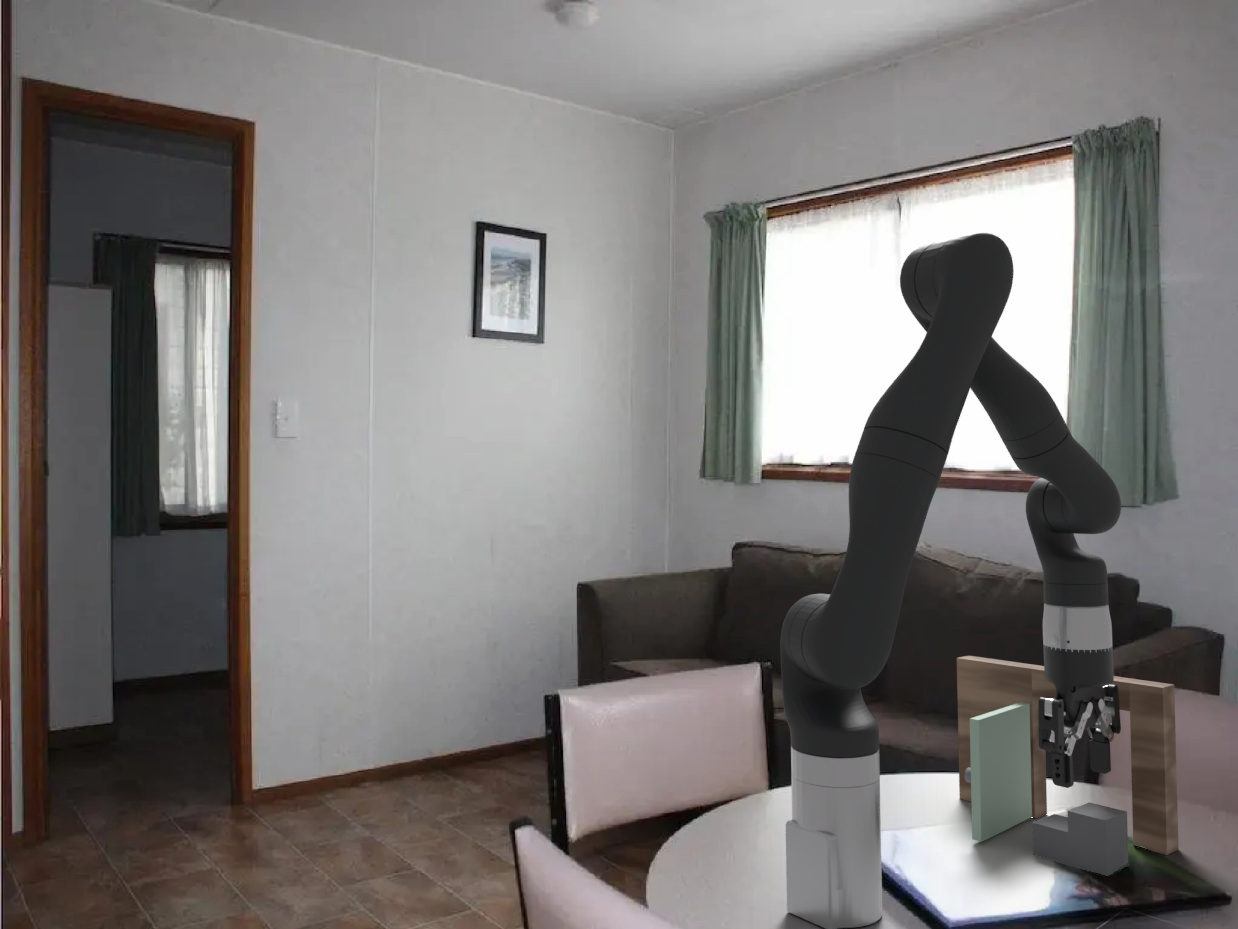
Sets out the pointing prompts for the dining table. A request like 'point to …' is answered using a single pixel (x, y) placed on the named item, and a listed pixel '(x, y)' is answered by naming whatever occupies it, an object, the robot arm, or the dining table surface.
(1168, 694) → the wall frame
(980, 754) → the door
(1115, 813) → the grey stepped block
